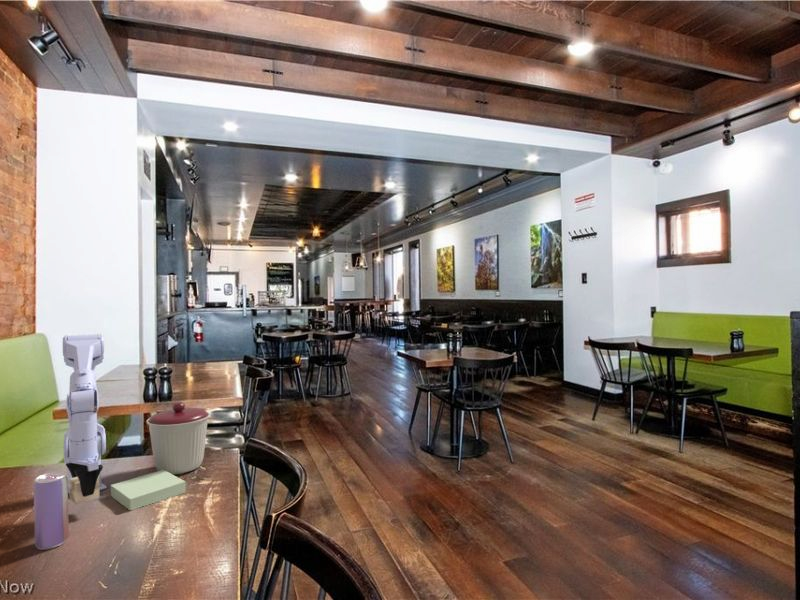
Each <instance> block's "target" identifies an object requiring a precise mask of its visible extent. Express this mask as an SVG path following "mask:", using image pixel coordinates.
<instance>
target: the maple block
mask: <svg viewBox="0 0 800 600" xmlns="http://www.w3.org/2000/svg"><path fill="white" fill-rule="evenodd" d="M69 485H70V494H69V500H71V501H72V503H74V505H78V504H82V503H85V502H90V501H92V500H96V499H98V498H99V499H100V490H99V477H98V479H97V482H96V486H95V490H94V494H92V495H89V496H86V497H84V496H83V495H82V491H81V486H80V482H79V479H78V477H74V478H71V479H69Z"/></svg>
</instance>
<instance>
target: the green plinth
mask: <svg viewBox="0 0 800 600" xmlns="http://www.w3.org/2000/svg"><path fill="white" fill-rule="evenodd" d="M186 491H187V490H186V481H185V480H183V479H181V478H179V477H178V476H175V474H174V475H172V474H171V473H169V472H167V471H165V470H161V471H158V470H157V471H155V472H154V471H153V472H151V473H147V474H143V475H141V476H140V475H139V476H136V477H134V478H131V479H127V480H124V481H123V480H122V481H120V482H117V483H113V484H110V496H111V497H112V498H113V499H115V501H117V502H118V503H119V504H121V505H122V506H123V505H124V506H123V507H125V508H126V509H127V508H128V511H130V510H132V511H134V510H133V509H135V510H137V509H136V508H138V509H140V508H139V507H141V508H143V507H142V506H144V507H146V506H145V505H147V506H149V504H150V505H152V503H153V504H154V503H159V502H161V501H164V500H167V499H170V498H173V497H176V496H179V495H181V494H184V493H185V494H186Z"/></svg>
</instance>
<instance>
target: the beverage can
mask: <svg viewBox="0 0 800 600" xmlns="http://www.w3.org/2000/svg"><path fill="white" fill-rule="evenodd" d="M33 512H34V513H33V514H34V515H33V516H34V518H33V519H34V524H33V525H34V547H36V549H38V550H41V551H46V550H51V549H52V550H53V549H54V548H57V546H58V547H60V546H61V545H62V546H63V544H65V543H66V541H68V538H69V536H70V533H69V527H70V526H69V493H68V475H67V472H65V471H52V472H47V473H43V474H41V475H38V476H37V477H36V478H34V483H33Z"/></svg>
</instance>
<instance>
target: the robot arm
mask: <svg viewBox="0 0 800 600" xmlns="http://www.w3.org/2000/svg"><path fill="white" fill-rule="evenodd" d="M104 337H105V336H104V334H102V333H99V334H82V335H81V334H79V335H64V336H63V337H62V356H63V360H64V361H63V362H64V363H65V366H67V367H71V368H72V369H73V370H74V371H73V372H72V373H71V374H70V376H69V387H68V388H69V390H68V391H69V393H68V394H66V413H67V418H68V419H67V421H68V422H67V423H69V424H68V425H69V426H68V430H66V431H65V433H64V437H63V438H64V439H63V462H64V464H65V466H66V468H67V478H68V495H70V485H69V479H71V478H74V477H78V479H79V482H80V486H81V491H82V495H83V496H84V497H86V496H89V495H92V494H94V490H95V486H96V482H97V479H98V477H99V491H102V490H105V489H107V485H106V484H104V483H102V471H103V467H104V466H103V464H102V455H105V453H106V452H107V439H106V438H107V437H106V428H104V426H103V425H102V424H100V423H98V411H99V400H100V399H99V391H98V386H97V373H96V372H95V369H96V367H97V366H98V365H100V364H102V363H103V360H104V356H105V355H104V353H105V338H104ZM95 408H96V410H95Z"/></svg>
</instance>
